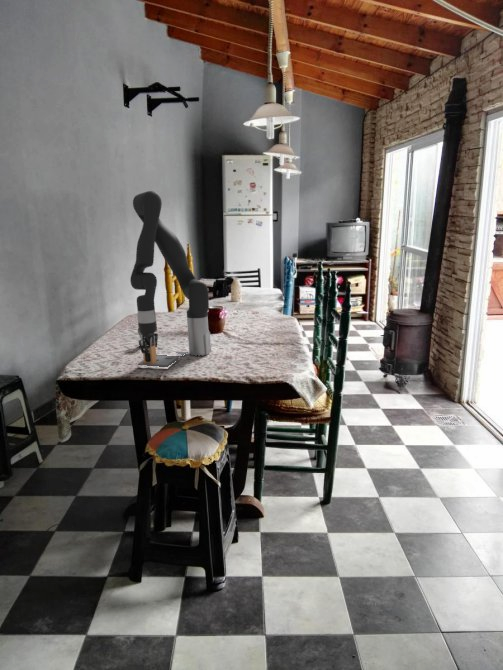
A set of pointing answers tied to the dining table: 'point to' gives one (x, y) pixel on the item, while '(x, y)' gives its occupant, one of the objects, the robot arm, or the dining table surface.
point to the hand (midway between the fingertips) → (150, 359)
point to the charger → (151, 354)
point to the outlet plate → (162, 361)
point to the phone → (181, 353)
